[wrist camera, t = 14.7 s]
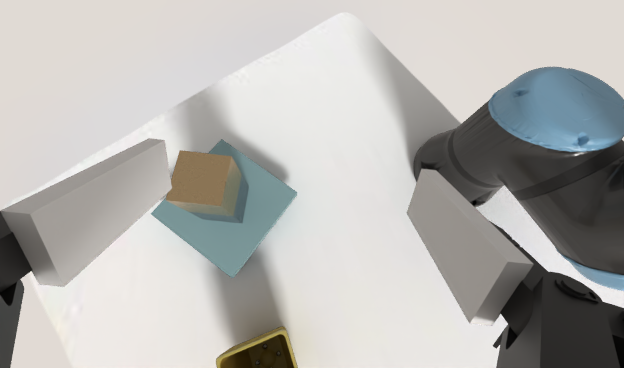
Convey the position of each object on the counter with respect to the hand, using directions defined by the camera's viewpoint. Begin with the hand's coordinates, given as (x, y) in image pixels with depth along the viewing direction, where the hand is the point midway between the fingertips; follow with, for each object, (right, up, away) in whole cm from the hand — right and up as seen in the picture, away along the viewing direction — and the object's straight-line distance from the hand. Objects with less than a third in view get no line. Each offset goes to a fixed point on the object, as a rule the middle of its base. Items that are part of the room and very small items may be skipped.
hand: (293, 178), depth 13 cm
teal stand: (-13, -5, +31) cm, 34 cm away
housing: (-12, -3, +27) cm, 30 cm away
